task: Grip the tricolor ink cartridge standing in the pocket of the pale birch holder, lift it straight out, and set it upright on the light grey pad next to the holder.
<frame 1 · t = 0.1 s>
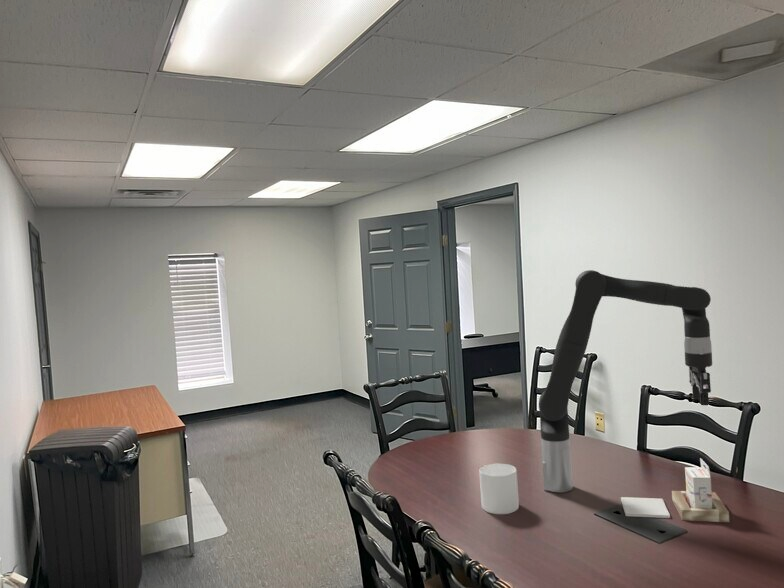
hand: (700, 401, 178), 29 cm above the table, tool pointing down, fingers open, 8 cm apart
cup: (500, 507, 180), on the table
ink cartridge box: (699, 511, 167), resting in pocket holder
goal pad: (644, 508, 171), on the table
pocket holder: (699, 510, 167), on the table
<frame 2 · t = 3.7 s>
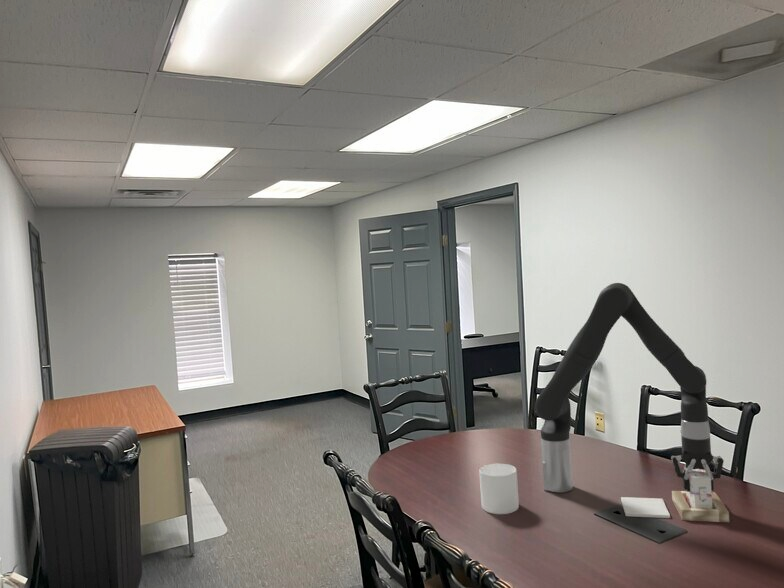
hand: (698, 490, 167), 6 cm above the table, tool pointing down, fingers closed on ink cartridge box, 5 cm apart
ink cartridge box: (699, 511, 167), resting in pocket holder, touching gripper
everything else where it was.
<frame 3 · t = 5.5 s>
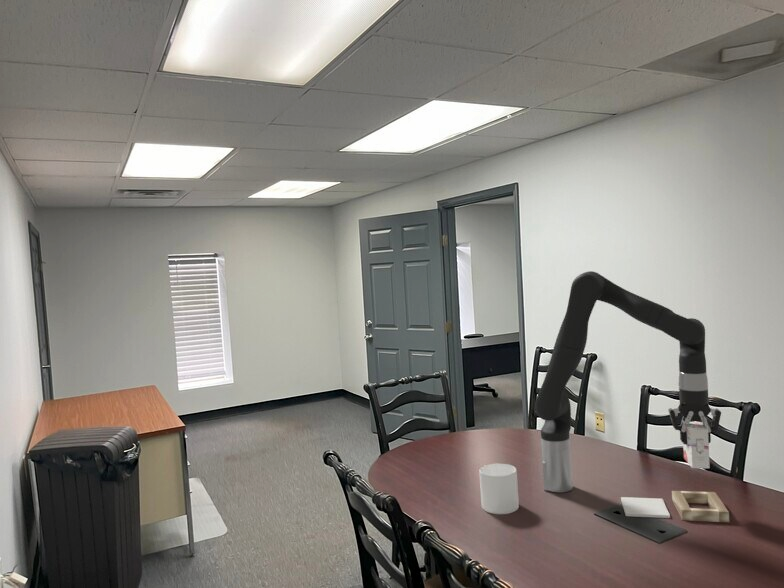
hand: (695, 443, 167), 20 cm above the table, tool pointing down, fingers closed on ink cartridge box, 5 cm apart
ink cartridge box: (696, 464, 167), point 14 cm above the table, touching gripper
everything else where it was.
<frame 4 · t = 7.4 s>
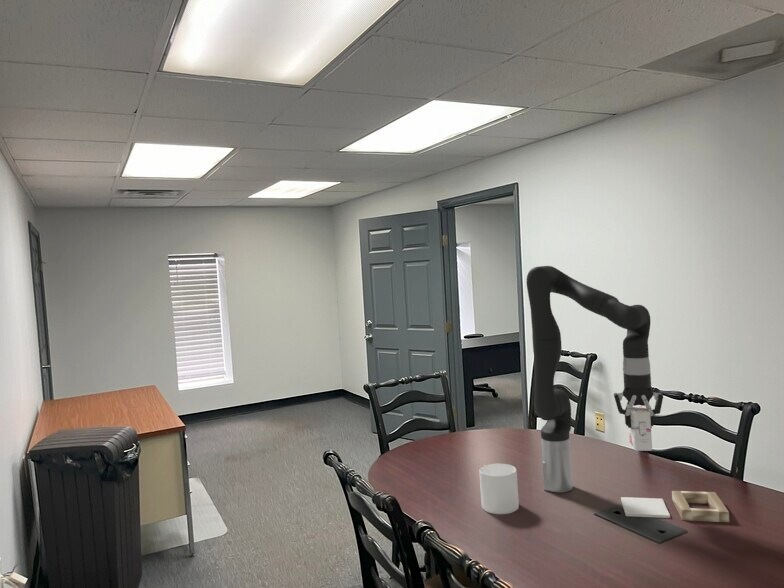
hand: (639, 427, 170), 25 cm above the table, tool pointing down, fingers closed on ink cartridge box, 5 cm apart
ink cartridge box: (640, 447, 171), point 19 cm above the table, touching gripper
everything else where it was.
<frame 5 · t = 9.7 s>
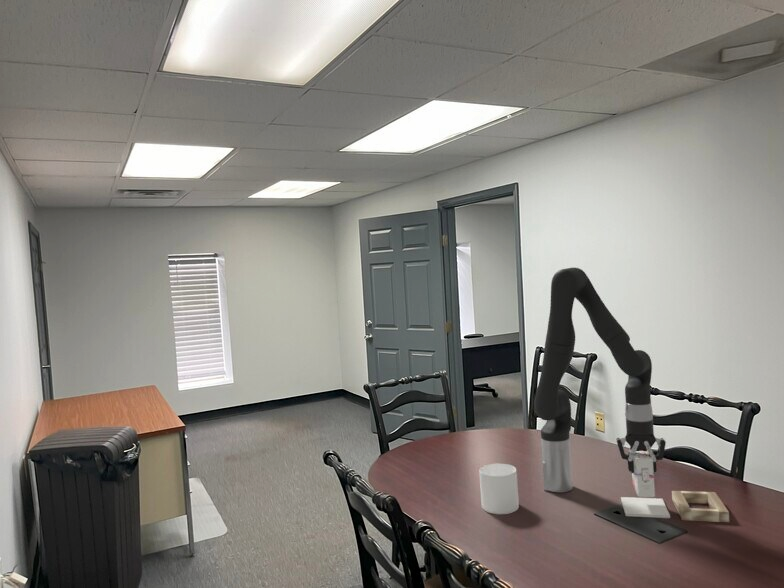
hand: (642, 472, 171), 11 cm above the table, tool pointing down, fingers closed on ink cartridge box, 5 cm apart
ink cartridge box: (643, 492, 171), point 5 cm above the table, touching gripper
everything else where it was.
when the fingers open (8 cm above the table, at t = 11.3 s): ink cartridge box drops 1 cm, resting on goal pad.
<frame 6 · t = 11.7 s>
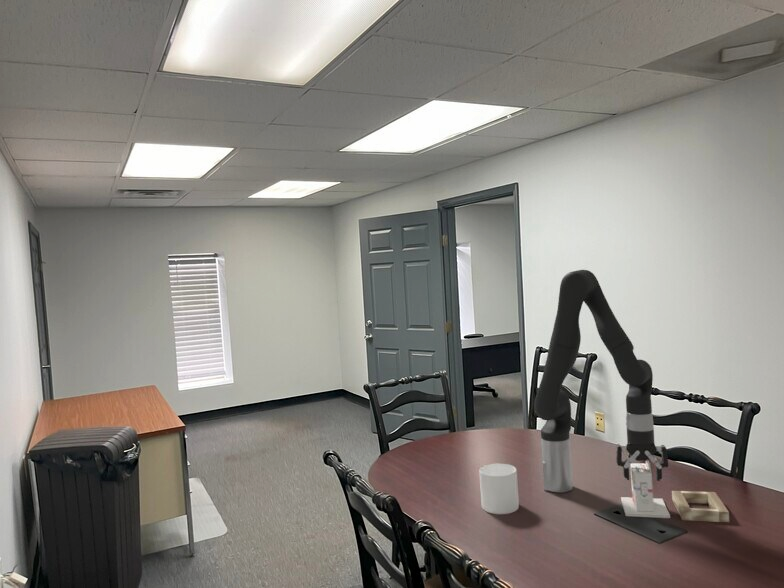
hand: (642, 479, 171), 9 cm above the table, tool pointing down, fingers open, 8 cm apart
ink cartridge box: (642, 506, 172), point 1 cm above the table, touching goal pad
everything else where it was.
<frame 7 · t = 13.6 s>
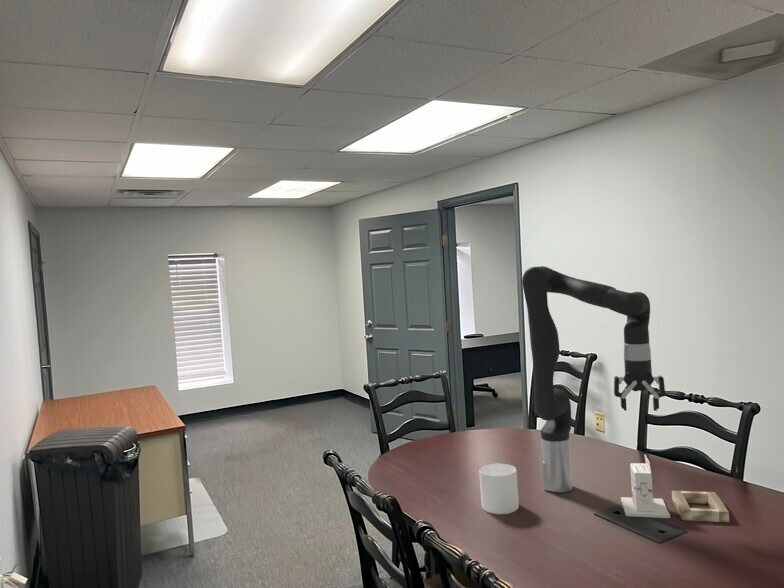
hand: (640, 410, 173), 29 cm above the table, tool pointing down, fingers open, 8 cm apart
nothing on the table moved.
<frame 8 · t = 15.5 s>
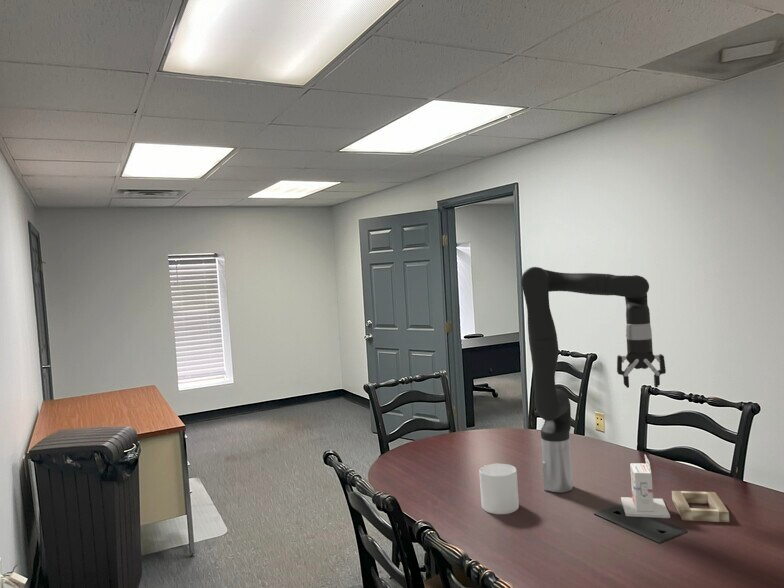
hand: (641, 387, 183), 34 cm above the table, tool pointing down, fingers open, 8 cm apart
nothing on the table moved.
at the end: ink cartridge box inside the target area on the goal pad (0.5 cm from its centre), point 0.6 cm above the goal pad's base; ink cartridge box tilted 0°; the gripper is holding nothing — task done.
